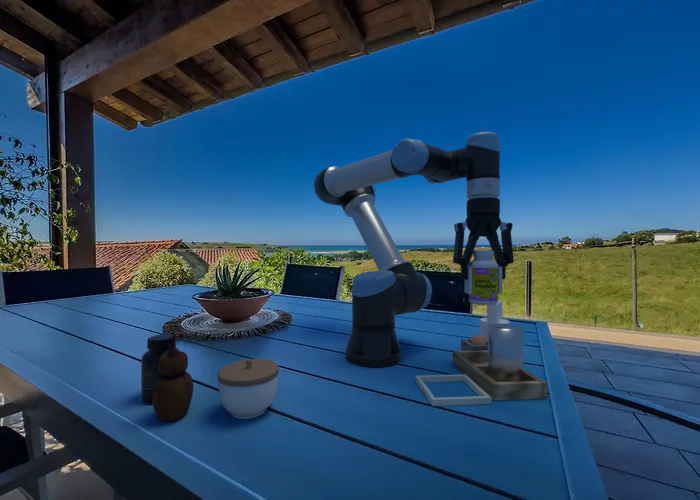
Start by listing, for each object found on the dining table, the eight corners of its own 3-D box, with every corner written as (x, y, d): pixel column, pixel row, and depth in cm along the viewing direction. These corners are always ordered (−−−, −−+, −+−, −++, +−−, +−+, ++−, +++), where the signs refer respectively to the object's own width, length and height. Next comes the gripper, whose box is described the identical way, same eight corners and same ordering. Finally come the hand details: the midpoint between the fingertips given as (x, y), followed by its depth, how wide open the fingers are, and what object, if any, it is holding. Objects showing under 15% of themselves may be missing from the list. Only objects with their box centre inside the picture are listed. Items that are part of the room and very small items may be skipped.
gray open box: (472, 361, 85) (472, 346, 85) (461, 353, 92) (461, 339, 92) (497, 361, 85) (497, 345, 85) (484, 352, 92) (484, 338, 92)
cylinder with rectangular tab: (483, 333, 113) (483, 299, 113) (512, 337, 108) (512, 301, 108) (477, 339, 106) (477, 302, 106) (506, 344, 101) (507, 305, 101)
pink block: (475, 357, 87) (475, 338, 87) (468, 352, 90) (468, 335, 90) (488, 357, 87) (488, 338, 87) (482, 352, 91) (482, 334, 91)
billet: (498, 392, 65) (498, 331, 65) (482, 379, 72) (482, 323, 72) (530, 391, 66) (530, 330, 66) (511, 378, 73) (511, 323, 73)
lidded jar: (218, 432, 52) (218, 374, 52) (217, 403, 62) (217, 354, 62) (284, 418, 56) (284, 365, 56) (273, 393, 66) (273, 347, 66)
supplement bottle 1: (155, 388, 68) (155, 332, 68) (187, 389, 68) (187, 332, 68) (133, 404, 62) (132, 341, 62) (168, 404, 61) (167, 342, 61)
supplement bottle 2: (470, 305, 76) (470, 250, 76) (466, 300, 82) (466, 250, 82) (501, 306, 74) (501, 250, 74) (495, 301, 81) (494, 250, 81)
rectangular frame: (432, 406, 61) (432, 399, 61) (415, 381, 72) (415, 375, 72) (491, 404, 62) (491, 397, 62) (465, 379, 73) (465, 374, 73)
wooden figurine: (165, 407, 60) (165, 327, 60) (197, 405, 61) (197, 326, 61) (146, 427, 54) (145, 337, 54) (181, 425, 54) (181, 336, 54)
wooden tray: (493, 400, 63) (493, 384, 63) (452, 362, 84) (452, 351, 84) (547, 398, 64) (547, 383, 64) (493, 361, 85) (493, 350, 85)
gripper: (448, 195, 74) (449, 295, 74) (531, 196, 75) (531, 294, 75) (438, 200, 82) (438, 291, 82) (513, 201, 83) (513, 290, 83)
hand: (483, 292), depth 78 cm, fingers closed on supplement bottle 2, 7 cm apart
